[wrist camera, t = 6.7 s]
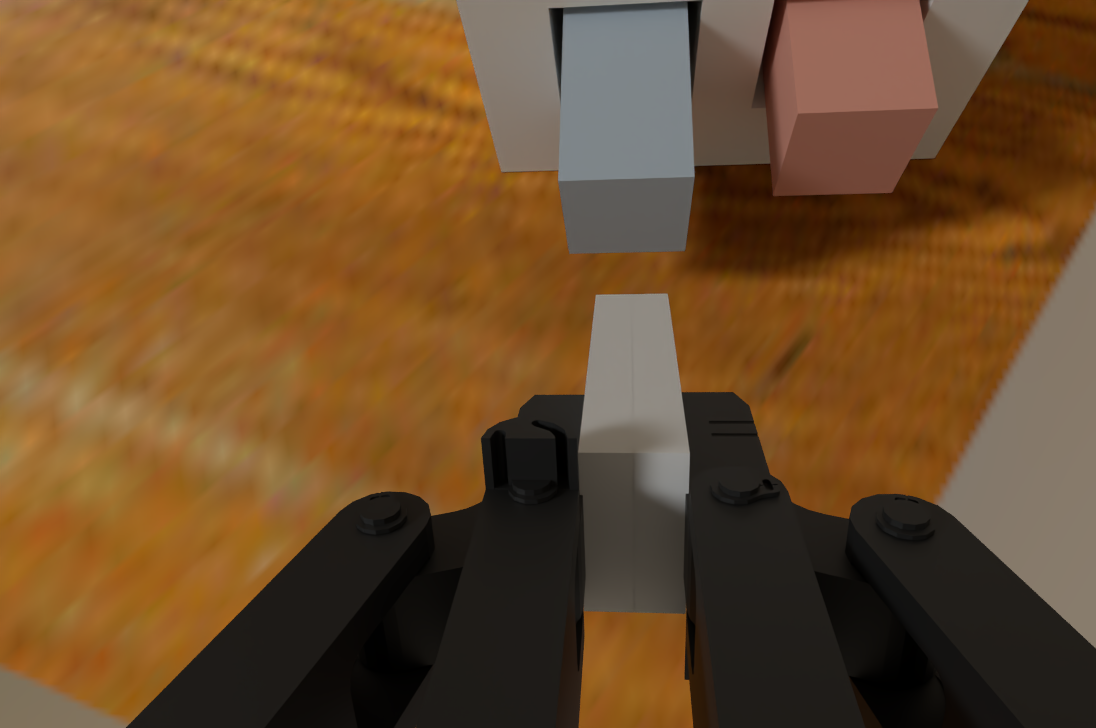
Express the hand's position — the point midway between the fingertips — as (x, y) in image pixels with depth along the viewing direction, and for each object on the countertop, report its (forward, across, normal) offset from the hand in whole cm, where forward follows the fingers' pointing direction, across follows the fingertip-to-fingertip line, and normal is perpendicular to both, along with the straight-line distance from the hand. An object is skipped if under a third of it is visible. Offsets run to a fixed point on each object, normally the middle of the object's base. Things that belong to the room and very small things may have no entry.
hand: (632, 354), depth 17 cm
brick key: (+22, +8, +6) cm, 24 cm away
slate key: (+20, 0, +4) cm, 20 cm away
